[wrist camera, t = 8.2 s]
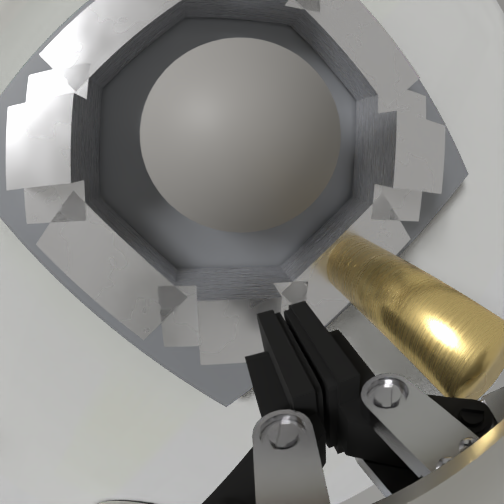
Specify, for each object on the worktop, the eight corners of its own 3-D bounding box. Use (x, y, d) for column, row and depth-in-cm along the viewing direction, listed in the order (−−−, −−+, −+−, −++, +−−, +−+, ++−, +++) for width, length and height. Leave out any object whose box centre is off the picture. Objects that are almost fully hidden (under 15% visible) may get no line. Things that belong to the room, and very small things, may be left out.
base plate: (453, 171, 17) (507, 181, 12) (223, 391, 19) (234, 448, 14) (245, -76, 10) (262, -122, 5) (-26, 161, 11) (-79, 169, 7)
